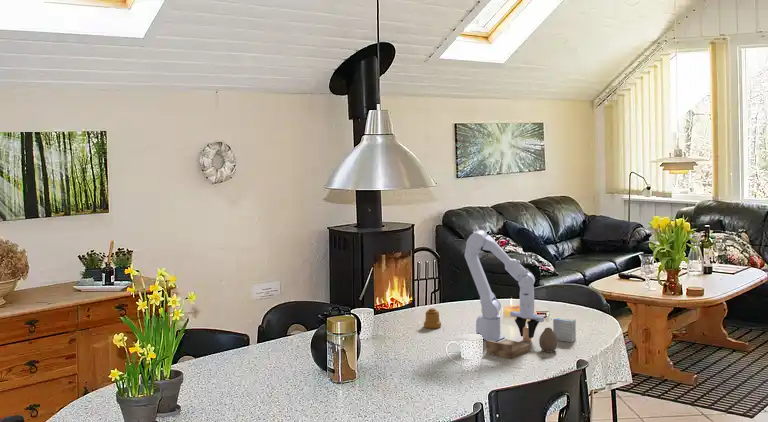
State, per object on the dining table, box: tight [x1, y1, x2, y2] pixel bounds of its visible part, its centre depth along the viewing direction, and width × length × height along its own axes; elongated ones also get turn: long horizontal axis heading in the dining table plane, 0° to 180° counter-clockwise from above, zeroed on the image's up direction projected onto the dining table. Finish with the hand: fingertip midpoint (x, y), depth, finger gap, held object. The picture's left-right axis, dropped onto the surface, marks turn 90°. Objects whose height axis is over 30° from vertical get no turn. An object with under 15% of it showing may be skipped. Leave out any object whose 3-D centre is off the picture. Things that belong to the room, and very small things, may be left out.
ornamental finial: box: [423, 307, 442, 330], centre depth 336 cm, size 8×8×8 cm
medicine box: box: [552, 316, 577, 343], centre depth 312 cm, size 8×4×9 cm, turn 58°
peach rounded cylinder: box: [522, 325, 532, 343], centre depth 312 cm, size 3×3×6 cm
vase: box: [538, 327, 559, 353], centre depth 298 cm, size 7×7×9 cm
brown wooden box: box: [485, 338, 531, 360], centre depth 298 cm, size 11×13×5 cm
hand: (527, 336), depth 312 cm, fingers closed on peach rounded cylinder, 3 cm apart
